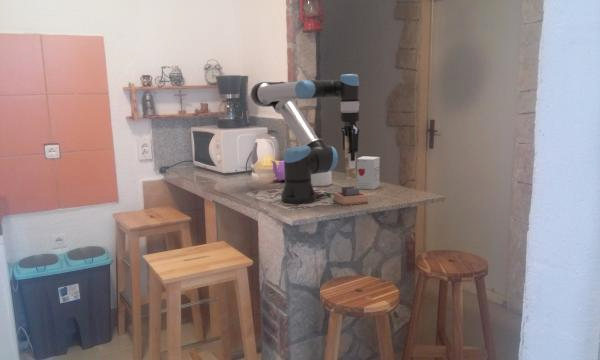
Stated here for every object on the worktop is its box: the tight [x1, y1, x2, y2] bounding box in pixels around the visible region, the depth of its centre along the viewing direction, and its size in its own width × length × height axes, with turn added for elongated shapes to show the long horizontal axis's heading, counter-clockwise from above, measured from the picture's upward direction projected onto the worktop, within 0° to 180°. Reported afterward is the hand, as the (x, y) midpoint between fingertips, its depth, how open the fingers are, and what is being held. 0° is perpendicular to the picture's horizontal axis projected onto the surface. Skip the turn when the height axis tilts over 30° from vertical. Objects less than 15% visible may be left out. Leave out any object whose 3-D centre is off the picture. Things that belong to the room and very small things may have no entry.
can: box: [311, 171, 333, 187], centre depth 247 cm, size 12×12×20 cm
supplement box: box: [356, 155, 381, 191], centre depth 236 cm, size 9×9×15 cm
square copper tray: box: [333, 185, 369, 206], centre depth 207 cm, size 11×11×6 cm
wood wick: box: [344, 136, 357, 180], centre depth 204 cm, size 4×2×18 cm, turn 108°
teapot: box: [270, 160, 285, 182], centre depth 260 cm, size 20×14×12 cm
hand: (350, 167), depth 205 cm, fingers closed on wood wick, 2 cm apart
